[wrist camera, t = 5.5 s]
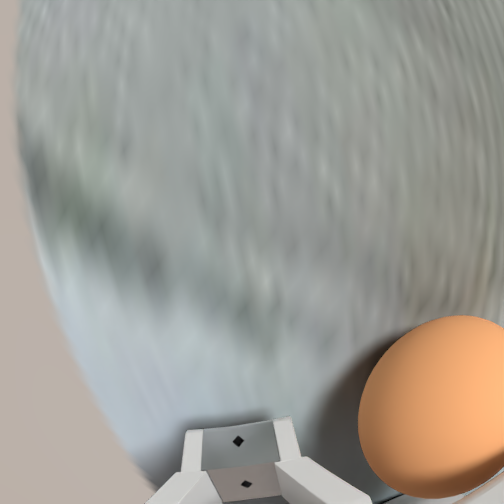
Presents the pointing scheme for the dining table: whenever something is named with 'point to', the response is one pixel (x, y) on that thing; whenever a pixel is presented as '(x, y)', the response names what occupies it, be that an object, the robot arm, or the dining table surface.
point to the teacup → (424, 500)
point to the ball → (437, 408)
